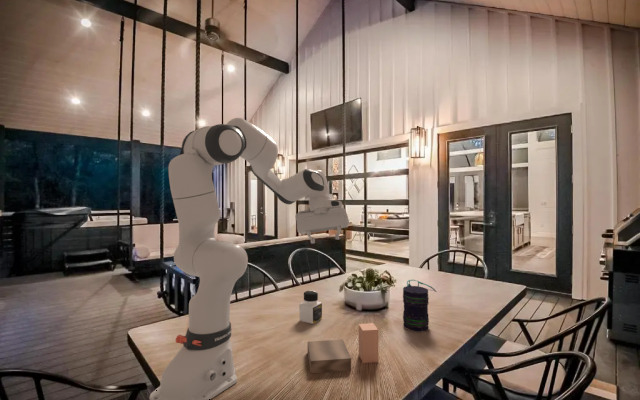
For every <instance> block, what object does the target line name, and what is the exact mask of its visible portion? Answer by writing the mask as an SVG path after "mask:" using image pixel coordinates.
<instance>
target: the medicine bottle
mask: <svg viewBox="0 0 640 400" xmlns="http://www.w3.org/2000/svg"><path fill="white" fill-rule="evenodd" d="M318 296H319V294H318V291H315V290H313V289H311V290H306V291H304V292H303V302H301V303H300V304H299V307H298V308H299V321H300V322H303V323H306V324H307V323H308V324H311V325H315V324H316V323H317V322H319V321H320V320H322V319H323V303H322V302H321V301H319V297H318Z"/></svg>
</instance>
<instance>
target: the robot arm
mask: <svg viewBox="0 0 640 400" xmlns="http://www.w3.org/2000/svg"><path fill="white" fill-rule="evenodd" d="M278 155H279V148H278V145H277V143H276V141H275V140H274V139H273V138H272V137H271V136H270V135H269V134H267V133H266V132H265V131H264V130H262V129H261V128H260V127H258V126H257V125H255V124H253V123H252V122H250V121H248V120H246V119H244V118H242V117H235V118H232V119H230V120H229V121H227V123H226V124H225V123H224V124H223V123H219V124H214V125H208V126H203V127H200V128H197V129H196V130H192V131H190V132H189V133H187V134H186V136H185V137H184V138H183V140H182V143H181V150H180V152H179V154H178V155H177V156H175V157H173V158H172V159H171V160H170V161H169V163H168V180H169V181H168V182H169V187H170V188H169V189H170V193H171V198H172V201H173V202H172V203H173V206H174V209H175V215H176V217H177V223H178V231H179V233H178V236H179V238H178V245H177V246H176V249H175V250H174V254H173V263H174V265H175V266H176V267H177V268H178V269H179V270H180V271H182V272H184V273H185V274H187V275H189V276H193V277H197V278H199V285H198V288H197V290H196V291H197V292H196V293H195V294H194V295H193V296H192V297H191V298H190V300H189V303H188V327H187V330H186V333H185V335H182V334H178V335H177V336H176V338H175V339H174V340H175V343H176V344H181V345H182V347H181V348H180V349H179V350H178V352H177V353H176V355H175V356H174V357H173V358H172V359H171V360H170V362H169V363H168V365H167V366H166V367H165V369H164V370H163V372H162V374H161V379H160V385H159V386H158V387H157V388H155V390H153V391H152V392H151V393H150V395H149V400H209V399H210V400H211V399H213V398H215V397H216V396H218V395H219V394H221V393H222V392H223V391H226V390H227V389H229V388H230V387H231V386H233V385H235V384H237V382H238V377H237V374H236V368H235V367H236V366H235V363H234V354H233V348H232V343H231V337H232V323H231V321H230V320H231V319H230V315H231V313H230V312H231V297H232V292H233V290H234V287H235V285H236V282H237V281H238V280H239V279H240V278H241V277H242V276H243V275H244V274H245V272H246V270H247V268H248V262H249V261H248V260H249V257H248V253H247V252H246V250H245V249H244V247H243V246H241V245H238V244H236V243H234V242H231V241H225V240H217V239H216V236H215V228H216V224H217V223H218V222H219V221H220V218H221V211H220V206H219V202H218V198H217V193H216V189H215V185H214V182H213V181H214V180H213V169H214V167H215V166H220V165H224V164H230V163H232V162H234V161H237V159H239V158H241V159H243V160H245V161H246V162H247V163H248V164H249V168H250V171H251V173H252V174H253V175H254V176H255V177H256V179H258V180H259V181H260V182H261V183H263V185H265V187H266V188H268V189H269V190H270V192H273V194H274V195H275V196H276V197H277V198H278V200H279V201H281V203H283V204H286V205H292V204H294V203H296V202H297V201H299V200H301V199H303V198H306V197H308V199H309V200H308V206H309V209H305V210H299V211H298V212H297V213H296V214H295V217H294V218H295V221H296V230H297V233H299V235H305V234H306V235H307V237H308V238H309V239H310V244H315V243H316V240H315V237H312V233H317V232H319V233H320V232H325V231H330V230H331V231H333V230H336V231H337V233H335V234H334V239H335V240H336V241H338V240H340V233H341V231H342V229H345V228H346V229H347V228H348V227H349V226H350V220H349V216H348V214H347V211H346V209H345V208H344V206H343V202H342V201H341V200H333V199H331V197H330V189H329V188H330V187H329V182H328V179H327V176H326V174H325V172H324V171H322V170H321V169H310V168H305V169H303V170H301V171H299V172H297V173H295V174H293V175H291V176H289V177H287V178H280V177H279V176H277V174H275V172H273V171H272V170H271V169H272V168H273V167H274V166H275V163H276V162H277V159H278ZM156 390H157V391H156Z"/></svg>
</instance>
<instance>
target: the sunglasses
mask: <svg viewBox="0 0 640 400" xmlns="http://www.w3.org/2000/svg"><path fill="white" fill-rule="evenodd" d="M412 281H413V282H414V281H415V282H417V286H419V287H420V285H424V286H427V287H429V288H431V289H432V290H433V291H434V292H437V291H436V289H435V288H434V287H432V286H431V285H428V284H426V283H424V282H421V281H419V280H416V279H408V280H407V282H406V286H412V284H411V282H412Z"/></svg>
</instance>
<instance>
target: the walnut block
mask: <svg viewBox="0 0 640 400" xmlns="http://www.w3.org/2000/svg"><path fill="white" fill-rule="evenodd" d="M307 358H308V364H309V371H310V374H323V373H333V372H334V373H335V372H348V371H352V358H351V355H350V353H349V350H348V347H347V346H346V343H345V340H344V339H329V340H313V341H307Z"/></svg>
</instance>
